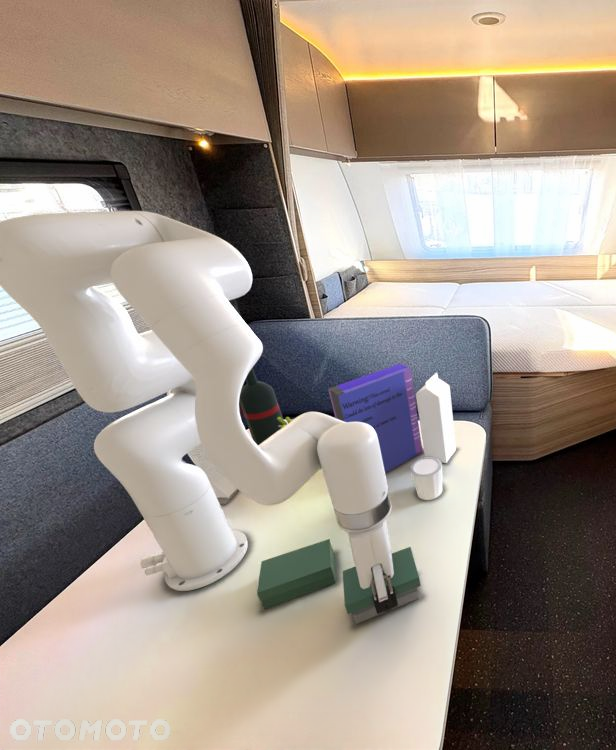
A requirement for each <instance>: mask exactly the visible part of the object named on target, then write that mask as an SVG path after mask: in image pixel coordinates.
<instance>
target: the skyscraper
mask: <svg viewBox="0 0 616 750" xmlns="http://www.w3.org/2000/svg"><path fill="white" fill-rule="evenodd" d="M171 394H172V391H171V390H170V391H168V392H166V396H169V395H171ZM186 455H187V456H188V457H189V458H190V460H191V461H192V462H193V465H194V466H197V467H199V468H200V469H202V470H203V471H204V472H205V474H206V475H207V477H208V480H209V482H210V484H211V486H212V488H213V491H214V493H215V495H216V497H217V499H218V502H219V504H220V506H224V505H226V504H227V503H228V502H229V501H230V500H231V499H232V498H233V496H235V494H237V492H239V490H238V489H237V488H236V487H235V486H234V485H233V484H232V483H231V482H230V481H229V480H228V479H227V477H226V476H225V475H224V474H223V473H222V472H221V471H220V470H219V469H218V468H217V467H216V466H215V464H214V463H213V462H212V461H211V460H210V458H209V457H208V455H207V454H206V452H205V450H204V448H203V446H202V444H200V445H199V446H197V447H196V448H194V449H192V450H191V451H190V452H188V453H187V454H186ZM181 461H182V462H183V463H186V461H185V460H183V458H182V459H181Z"/></svg>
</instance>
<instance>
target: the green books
mask: <svg viewBox="0 0 616 750" xmlns="http://www.w3.org/2000/svg"><path fill="white" fill-rule="evenodd" d="M336 574H337V573H336V558H335V551H334V548H333V545H332V542H331V539H330V538H328V539H324V540H322V541H319V542H316V543H313V544H309V545H307V546H303V547H301V548H298V549H295V550H291V551H287V552H286V553H282V554H280V555H277V556H272V557H270V558H267V559H264V560H261V562H260V570H259V575H258V583H257V590H256V594H257V597H258V599H259V602H260V603H261V605H262V607H263V609H264V610H266V609H268V608H271V607H275V606H276V605H279V604H282V603H284V602H285V603H286V602H288V601H291V600H293V599H296V598H299V597H301V596H304V595H307V594H310V593H312V592H314V591H315V592H316V591H318V590H320V589H323V588H326V587H328V586H331V585H334V584H336V583H337V578H336V577H337V576H336Z"/></svg>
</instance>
